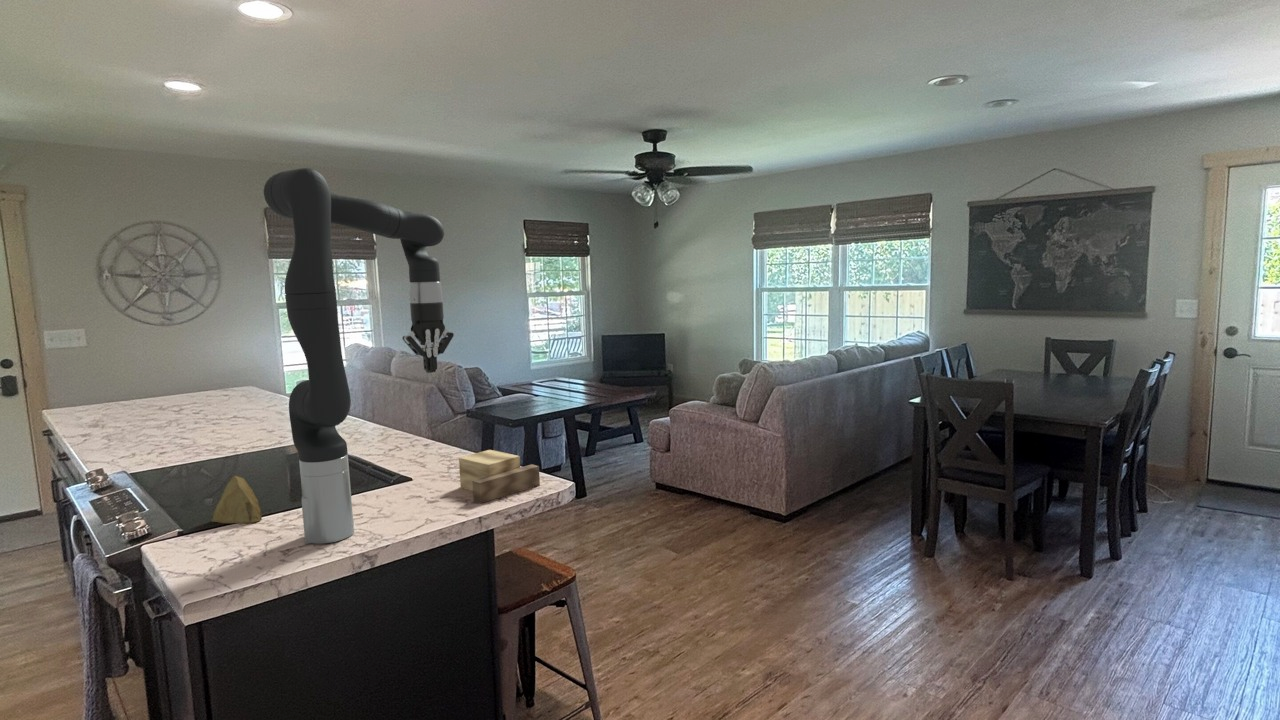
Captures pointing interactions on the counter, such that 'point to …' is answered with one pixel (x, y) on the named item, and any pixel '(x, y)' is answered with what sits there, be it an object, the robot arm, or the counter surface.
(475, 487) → the walnut board
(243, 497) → the rock
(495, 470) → the oak block
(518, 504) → the counter surface
